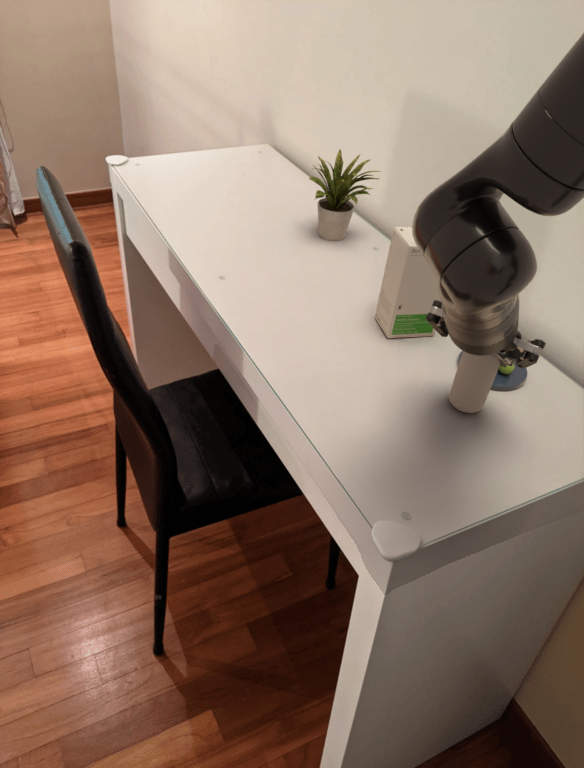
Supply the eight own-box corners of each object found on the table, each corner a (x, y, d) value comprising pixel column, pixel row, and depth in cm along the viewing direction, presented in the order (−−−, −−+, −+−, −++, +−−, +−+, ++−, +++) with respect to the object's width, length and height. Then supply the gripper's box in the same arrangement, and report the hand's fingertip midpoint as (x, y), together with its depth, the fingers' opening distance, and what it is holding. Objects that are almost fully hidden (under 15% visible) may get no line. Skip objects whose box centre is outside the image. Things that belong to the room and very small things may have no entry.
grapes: (540, 381, 88) (555, 346, 84) (487, 397, 85) (501, 361, 81) (494, 343, 95) (506, 309, 91) (443, 356, 91) (454, 321, 87)
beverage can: (468, 388, 85) (493, 316, 78) (490, 410, 82) (519, 336, 74) (440, 396, 83) (463, 322, 76) (462, 418, 80) (489, 344, 72)
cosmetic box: (386, 339, 93) (407, 246, 84) (372, 316, 98) (390, 225, 88) (436, 336, 95) (462, 245, 85) (420, 313, 100) (443, 224, 90)
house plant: (337, 262, 111) (351, 174, 101) (279, 236, 117) (286, 150, 107) (379, 238, 120) (395, 155, 110) (323, 216, 127) (333, 135, 116)
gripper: (565, 303, 61) (553, 347, 76) (433, 256, 66) (447, 306, 82) (532, 370, 61) (527, 400, 76) (402, 317, 66) (422, 355, 82)
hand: (486, 351), depth 79 cm, fingers closed on beverage can, 5 cm apart
